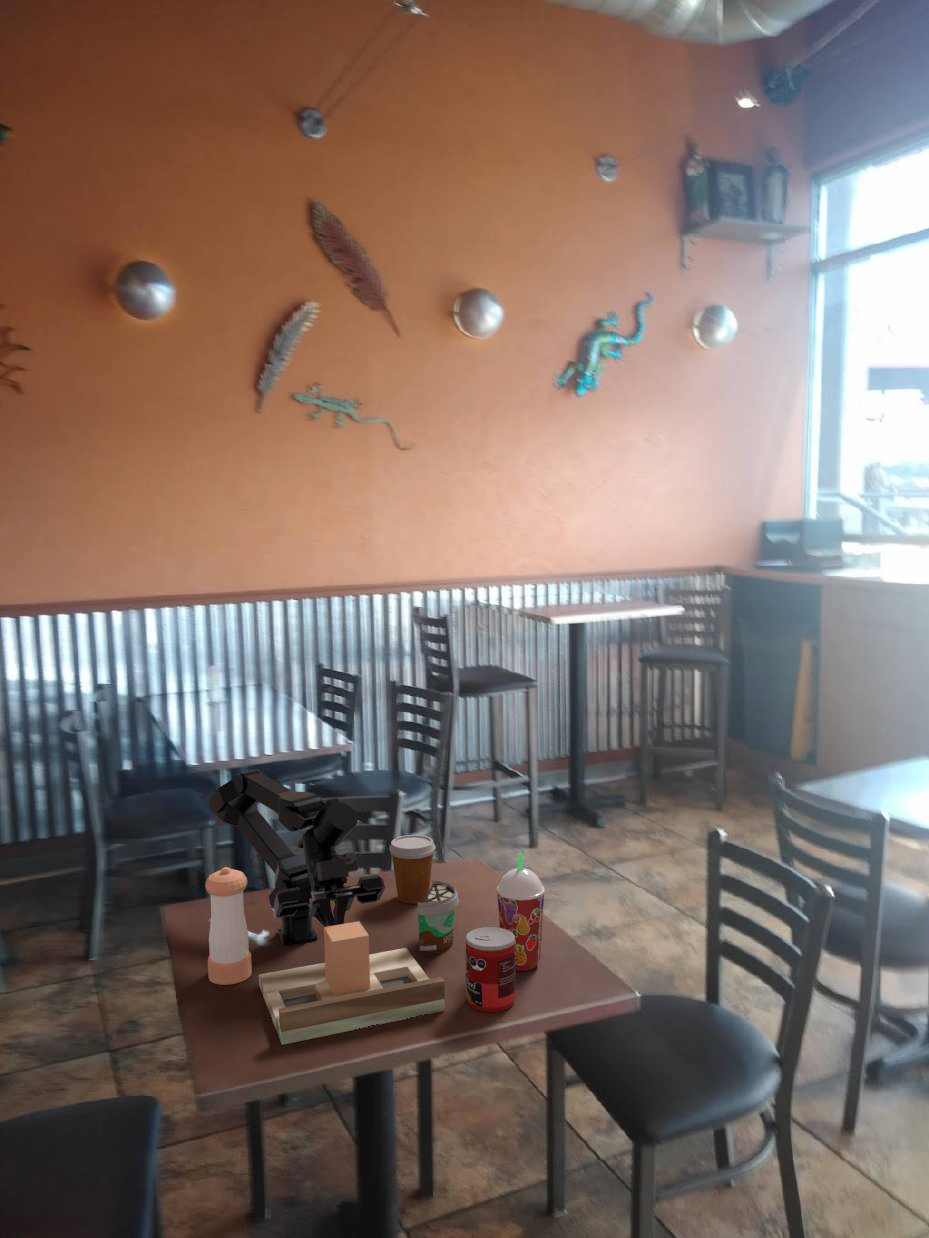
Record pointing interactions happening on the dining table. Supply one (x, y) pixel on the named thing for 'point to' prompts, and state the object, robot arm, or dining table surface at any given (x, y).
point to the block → (347, 958)
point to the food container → (437, 918)
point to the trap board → (349, 997)
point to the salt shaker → (228, 928)
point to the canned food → (490, 969)
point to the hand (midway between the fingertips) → (339, 942)
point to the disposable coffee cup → (412, 866)
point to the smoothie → (522, 913)
